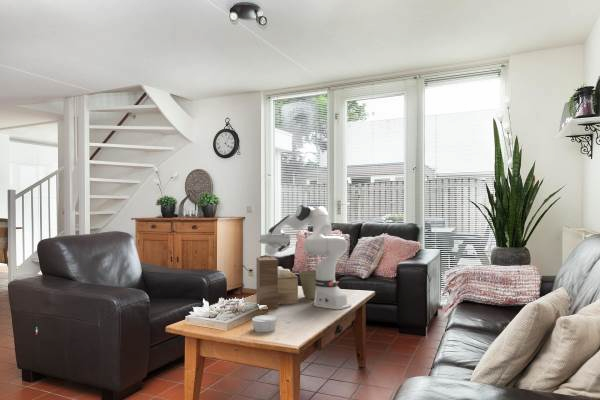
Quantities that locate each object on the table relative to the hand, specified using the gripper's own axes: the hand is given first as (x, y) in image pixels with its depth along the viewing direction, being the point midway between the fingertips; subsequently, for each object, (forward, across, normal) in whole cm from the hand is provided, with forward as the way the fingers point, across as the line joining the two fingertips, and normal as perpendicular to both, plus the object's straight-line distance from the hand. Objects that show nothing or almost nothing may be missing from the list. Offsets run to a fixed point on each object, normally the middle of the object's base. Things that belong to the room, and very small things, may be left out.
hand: (276, 233), depth 277 cm
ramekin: (+51, -20, +74) cm, 93 cm away
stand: (+6, -6, +48) cm, 49 cm away
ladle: (+3, 0, +30) cm, 30 cm away
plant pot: (-1, +18, +44) cm, 48 cm away
